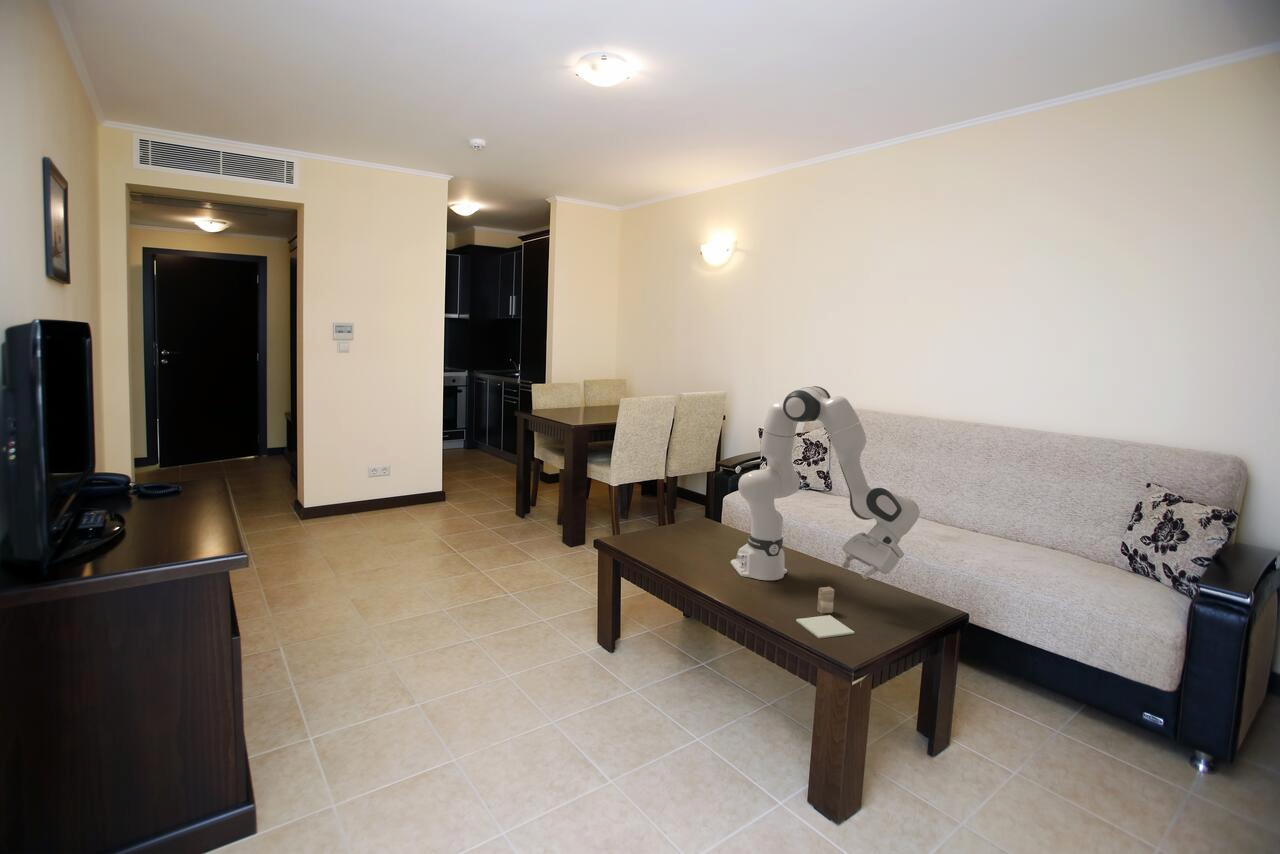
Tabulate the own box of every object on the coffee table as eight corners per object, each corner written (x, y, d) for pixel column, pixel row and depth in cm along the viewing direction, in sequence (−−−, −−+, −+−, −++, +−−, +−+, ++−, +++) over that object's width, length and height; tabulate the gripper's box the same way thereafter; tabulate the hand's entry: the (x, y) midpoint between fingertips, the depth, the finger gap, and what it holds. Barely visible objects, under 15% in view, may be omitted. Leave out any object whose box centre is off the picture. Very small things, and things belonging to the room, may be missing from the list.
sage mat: (796, 621, 198) (796, 619, 198) (829, 616, 202) (829, 615, 201) (819, 638, 186) (819, 636, 186) (854, 633, 190) (854, 631, 190)
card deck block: (816, 610, 206) (818, 587, 205) (827, 609, 208) (829, 586, 207) (821, 613, 204) (823, 590, 203) (832, 612, 205) (834, 589, 204)
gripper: (855, 525, 218) (828, 555, 216) (897, 543, 199) (868, 577, 197) (865, 537, 220) (838, 567, 218) (908, 556, 201) (879, 589, 199)
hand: (853, 572), depth 207 cm, fingers open, 8 cm apart
